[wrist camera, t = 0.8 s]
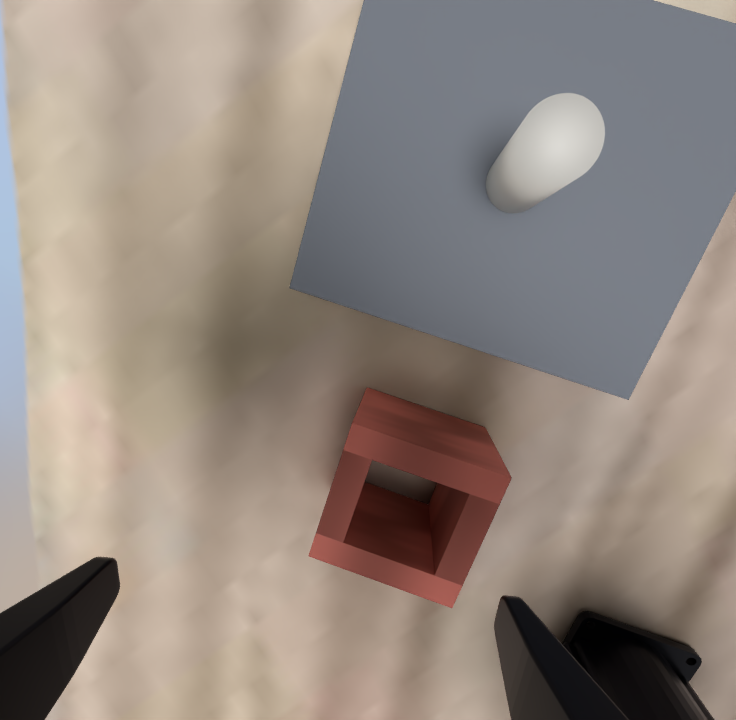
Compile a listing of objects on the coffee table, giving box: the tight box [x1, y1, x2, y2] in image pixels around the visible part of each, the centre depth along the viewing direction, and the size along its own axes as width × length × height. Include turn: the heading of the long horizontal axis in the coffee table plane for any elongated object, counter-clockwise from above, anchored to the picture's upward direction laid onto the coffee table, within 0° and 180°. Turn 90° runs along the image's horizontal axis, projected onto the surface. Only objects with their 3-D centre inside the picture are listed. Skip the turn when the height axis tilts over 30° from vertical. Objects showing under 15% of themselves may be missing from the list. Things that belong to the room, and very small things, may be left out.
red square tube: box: [309, 387, 512, 608], centre depth 17 cm, size 6×6×5 cm
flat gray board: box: [290, 0, 736, 400], centre depth 13 cm, size 16×14×6 cm
